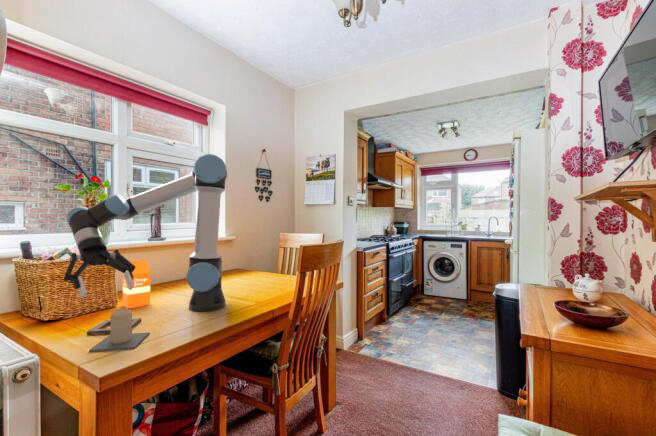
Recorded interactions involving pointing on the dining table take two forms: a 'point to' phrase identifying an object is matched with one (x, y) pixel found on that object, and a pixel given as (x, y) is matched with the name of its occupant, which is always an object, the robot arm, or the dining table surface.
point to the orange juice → (138, 286)
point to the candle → (121, 326)
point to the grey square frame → (100, 330)
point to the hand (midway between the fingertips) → (109, 291)
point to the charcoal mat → (132, 344)
